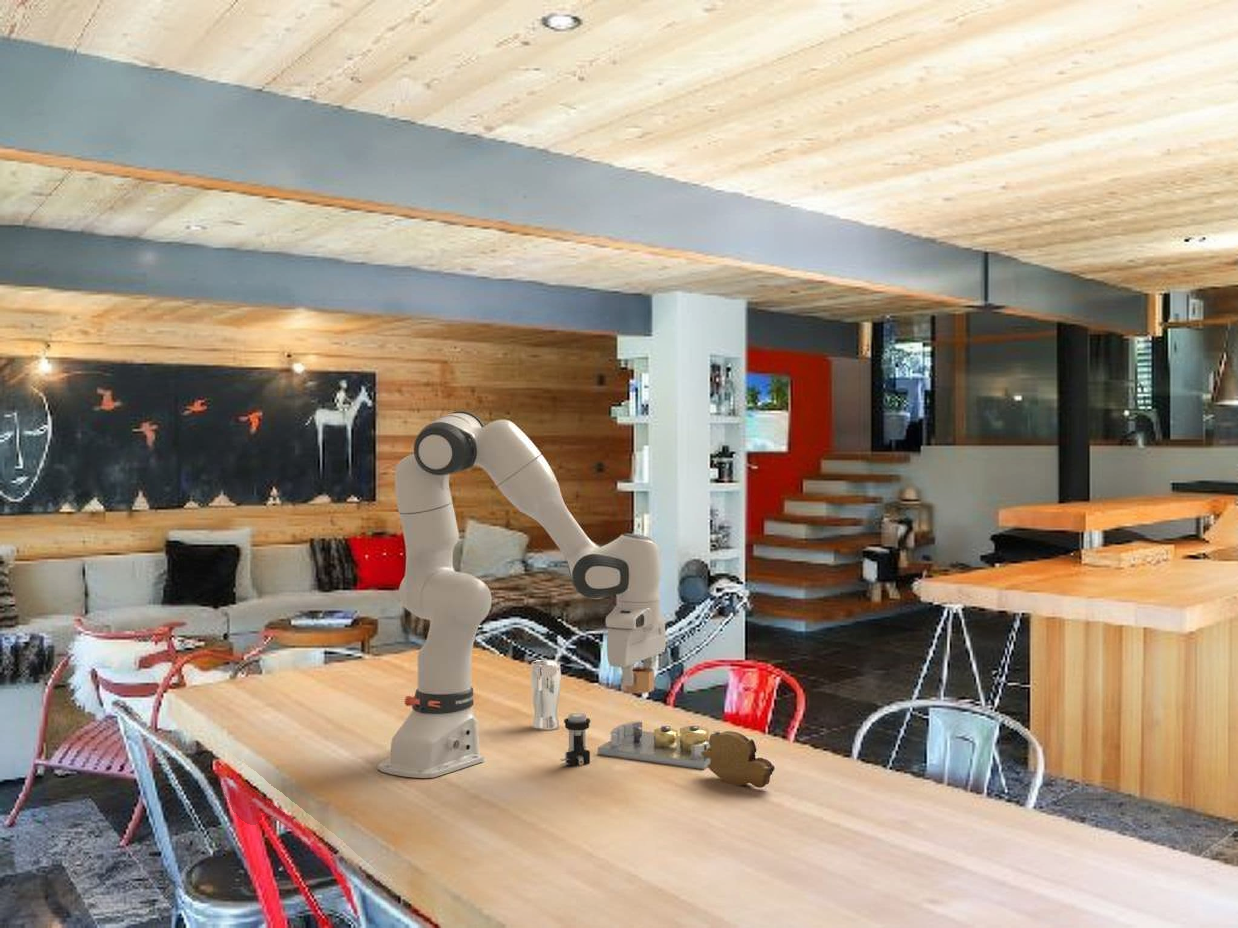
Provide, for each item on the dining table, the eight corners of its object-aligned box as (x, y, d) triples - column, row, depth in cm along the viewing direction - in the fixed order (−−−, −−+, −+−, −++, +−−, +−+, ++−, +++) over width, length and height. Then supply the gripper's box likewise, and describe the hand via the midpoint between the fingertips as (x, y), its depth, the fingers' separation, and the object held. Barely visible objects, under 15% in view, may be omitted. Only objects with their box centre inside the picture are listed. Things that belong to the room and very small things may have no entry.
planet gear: (644, 694, 220) (645, 674, 220) (618, 690, 223) (618, 671, 223) (657, 688, 225) (657, 668, 225) (631, 684, 228) (631, 665, 228)
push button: (568, 770, 220) (568, 720, 220) (553, 764, 225) (553, 715, 224) (595, 764, 224) (595, 715, 224) (580, 758, 229) (580, 710, 228)
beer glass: (563, 723, 257) (563, 659, 257) (558, 731, 250) (558, 665, 250) (533, 722, 258) (533, 659, 258) (528, 730, 251) (528, 665, 251)
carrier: (704, 769, 221) (704, 739, 221) (598, 754, 232) (598, 725, 232) (732, 749, 235) (732, 721, 235) (630, 736, 246) (630, 708, 246)
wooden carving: (780, 789, 209) (780, 736, 208) (766, 795, 205) (766, 741, 205) (709, 772, 219) (709, 722, 219) (695, 777, 216) (695, 726, 216)
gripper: (646, 606, 234) (646, 670, 235) (601, 619, 216) (601, 689, 216) (673, 608, 232) (673, 673, 232) (630, 621, 213) (629, 693, 214)
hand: (637, 681), depth 224 cm, fingers closed on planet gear, 6 cm apart
